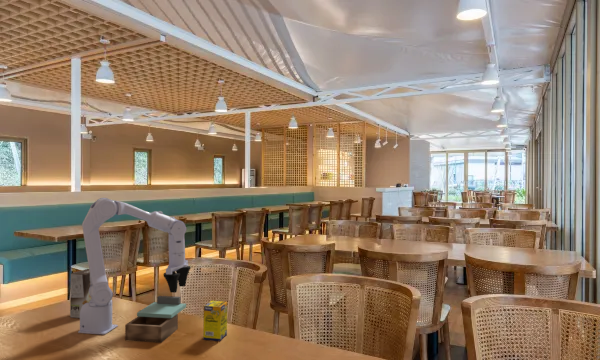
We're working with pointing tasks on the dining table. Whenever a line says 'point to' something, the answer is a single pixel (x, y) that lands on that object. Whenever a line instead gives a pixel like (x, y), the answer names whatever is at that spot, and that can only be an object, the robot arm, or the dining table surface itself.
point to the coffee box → (79, 291)
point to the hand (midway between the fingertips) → (178, 289)
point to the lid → (163, 307)
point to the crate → (150, 329)
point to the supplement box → (215, 321)
